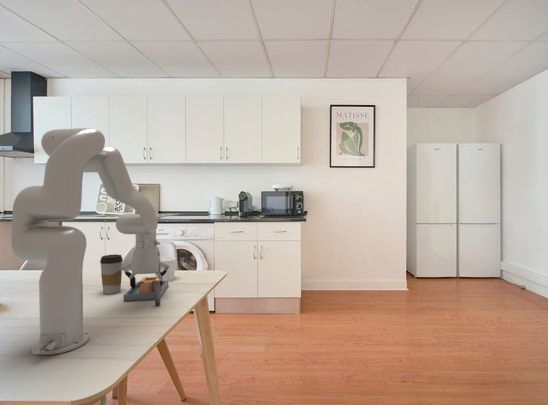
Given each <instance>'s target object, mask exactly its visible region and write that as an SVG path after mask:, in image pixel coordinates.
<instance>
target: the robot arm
mask: <svg viewBox="0 0 548 405" xmlns="http://www.w3.org/2000/svg"><path fill="white" fill-rule="evenodd" d="M40 141H41V142H40V143H41V148H42V150H43V151H44V153H45V154H46V155H47V156H49V157H48V159H47V161H46V164H45V166H44V167H45V168H44V174H43V175H44V177H43V184H42V185H32V186H27V187H25V188H24V189H22V190H21V191H19V193H18V194H17V195H16V197H15V199H14V202H13V204H12V214H11V216H12V217H11V239H10V240H11V250H12V252H13V254H14V255H15V256H16V257H17V258H18V259H20V260H23V261H27V262H43V263H46V264H45V266H44V268H43V269H42V272H41V274H40V275H39V276H40V277H39V280H38V291H39V292H38V294H39V295H38V296H39V299H38V300H39V339H38V340H36V341H35V342H34V343H33V344H32V347H31V348H32V349H31V354H33V355H41V356H51V355H56V354H57V355H59V354H62V353H66V352H70V351H73V350H75V349H78V348H79V347H81V346H84V344H86V343H87V342H88V341H89V340H90V336H91V334H90V331H89V330H86V329H84V295H83V294H84V293H83V291H84V290H83V288H84V285H83V284H84V283H83V268H84V260H85V259H84V258H85V254H86V249H87V238H86V235H85V234H84V232H83V231H82V230H80V229H78V228H76V227H74V226H69V225H49V222H55V221H56V222H59V221H60V222H62V221H63V222H65V221H72V220H74V219H76V218H78V216H79V215H80V214H81V211H82V210H81V209H82V198H83V195H82V194H83V178H84V177H83V176H84V173H97V174H98V176H99V178H100V180H101V182H102V186H103V188H104V190H105V193H106V195H107V196H108V197H109V198H111V199H113V200H115V201H118V202H120V203H122V204H125V205H126V206H129V207H131V208H132V209H133V210H134V211H135V212H137V213H124V214H122V215H120V216H118V218H117V219H116V221H115V227H116V230H117V232H119V233H121V234H124V235H135V248H134V249H133V252H132V257H131V258H132V259H131V263H129V264H126V265H125V266H122V272H123V273H124V274H125V276H126V277H128V279H129V287H130V288H131V289H134V288H135V287H136V283H137V280H136V275H146V274H147V275H149V274H154V275H155V274H156V275H157V276H158V278H161V281H160V286H161V285H162V276H163V275H164V274H165V273H166V272H167V270H168V268H169V265H167V264H165V263H162V262H160V258H161V255H160V247H158V245H159V246H160V245H161V241H158V240H157V229H158V218H157V214H156V212H155V208H154V206H153V203H152V202H151V201H150V200H149V199H148V198H147V197H146V196H145V194H143V193H142V192H140V191H139V190H138V189H137V188H135V186H133V183H132V179H131V177H130V175H129V172H128V169H127V166H126V164H125V161H124V159H123V155H122V154H121V152H120V151H119V150H118V149H117V148H116V147H113V146H107V145H106V137H105V135H104V134H103V133H102V132H101V130H98V129H95V128H89V127H80V128H79V127H76V128H74V127H73V128H64V129H63V128H62V129H61V128H60V129H52V130H48V131H46V132H45V133H44V134H43V135H42V138H41V140H40ZM105 145H106V146H105ZM161 266H162V267H164V268H165V269H164V271H163V272H161V271H160V269H161ZM130 268H131V272H130V270H129V269H130Z"/></svg>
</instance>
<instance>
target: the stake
mask: <svg viewBox="0 0 548 405" xmlns="http://www.w3.org/2000/svg"><path fill="white" fill-rule="evenodd" d="M160 281H161V278H154V282H155V300H154V307H159V306H161V299H160Z"/></svg>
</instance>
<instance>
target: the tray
mask: <svg viewBox="0 0 548 405" xmlns="http://www.w3.org/2000/svg"><path fill="white" fill-rule="evenodd" d="M168 288H169V282H168V281H162V285H161V288H160V300H161V298H162V297H163V295H164V294H165V292H166V291H167V289H168ZM145 301H155V292H152V293H141V294H140V293H139V281H136V287H135V288H134V289H131V287H130V288H129V289H128V290H127V291H126V292H125V293H124V294H123V303H124V302H125V303H126V302H145Z"/></svg>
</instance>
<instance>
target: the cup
mask: <svg viewBox="0 0 548 405" xmlns="http://www.w3.org/2000/svg"><path fill="white" fill-rule="evenodd" d="M176 260H177V258H176V257H173V256H164V257H163V256H162V257H161V256H160V262H162V263H165V264H167V265H169V268H168V270H167V272H166V273H165V274H164V275H163V276H162V281H168V283H170V282H171V281H174V280H175V274H176V273H175V272H176V271H175V270H176ZM164 269H165V268H164V267H162V266H161V269H160V271H161V272H163V271H164ZM154 275H155V276H154V277H158V276H157V275H156V274H155V273H154Z"/></svg>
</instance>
